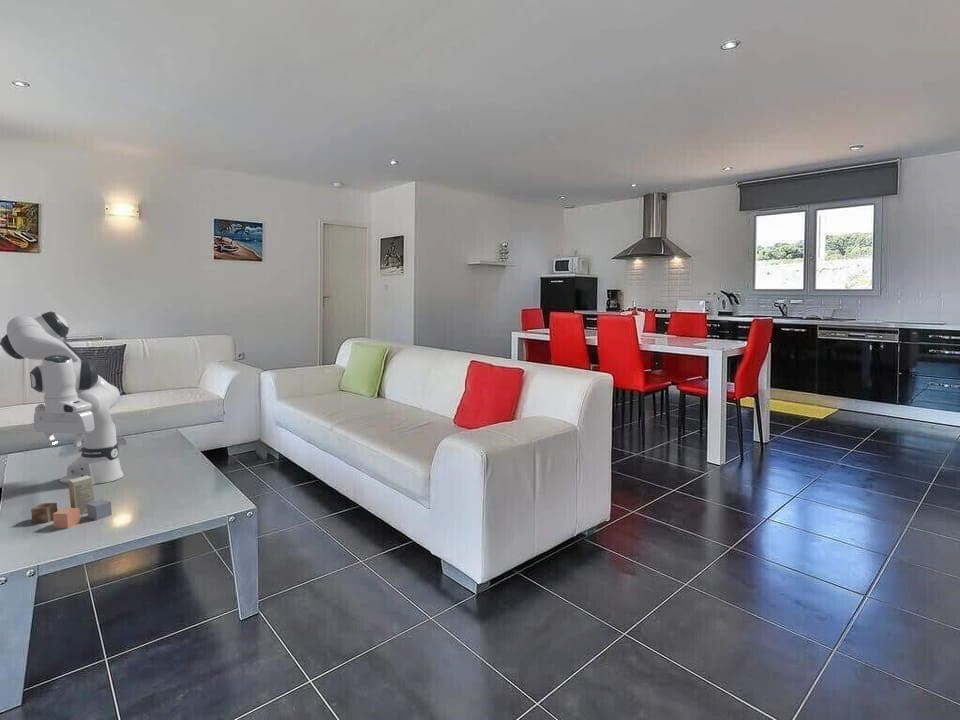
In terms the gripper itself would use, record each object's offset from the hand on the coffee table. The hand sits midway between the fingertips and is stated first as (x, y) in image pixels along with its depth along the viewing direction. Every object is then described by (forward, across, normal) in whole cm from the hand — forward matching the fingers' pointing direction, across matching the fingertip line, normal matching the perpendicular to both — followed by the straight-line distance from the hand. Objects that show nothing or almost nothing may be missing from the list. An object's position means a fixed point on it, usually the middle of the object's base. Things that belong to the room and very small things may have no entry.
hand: (65, 445), depth 184 cm
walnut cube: (+27, -11, 0) cm, 29 cm away
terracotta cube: (+27, 0, -2) cm, 27 cm away
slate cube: (+27, +5, +6) cm, 28 cm away
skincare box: (+27, -5, +9) cm, 29 cm away
